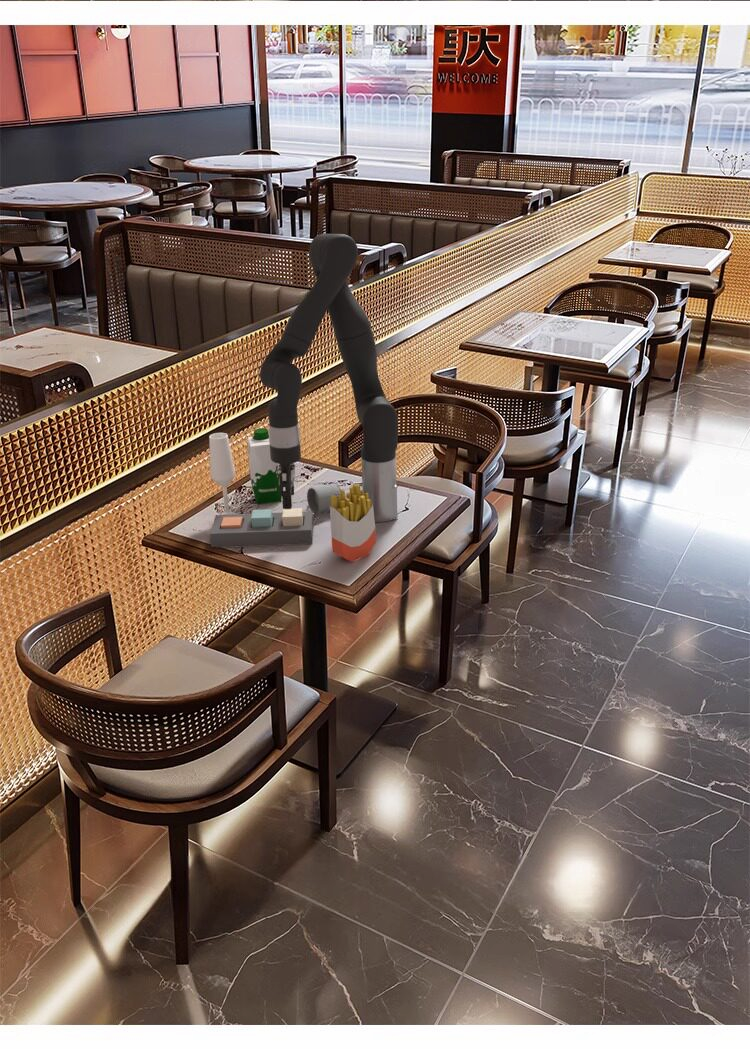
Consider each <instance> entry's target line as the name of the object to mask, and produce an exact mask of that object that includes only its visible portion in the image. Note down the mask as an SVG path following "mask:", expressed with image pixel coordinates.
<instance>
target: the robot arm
mask: <svg viewBox="0 0 750 1049" xmlns="http://www.w3.org/2000/svg"><path fill="white" fill-rule="evenodd" d="M308 255H309V257H308V258H309V262H310V266H311V267H312V270H313V273H314V275H315V277H316V281H315V282H314V284H313V286H312V287H311V289H310V290H309V291H308V292H307V294H306V295H305V296H304V298H303V299H302V300H301V301H300V302H299V303H298V305H297V306H296V308H295V309H294V310H293V312H291V315H290V316H289V319H288V321H287V324H285V325H286V326H285V328H284V330H283V333H282V335H281V336H280V339H279V340H278V342H277V343H275V345H274V346H273V347H272V349H271V350H270V352H269V353H268V354H267V355H266V357H265V358H264V360H263V362H262V363H261V366H260V370H259V380H260V381H261V383H262V385H263V386H264V387H266V388H268V389H272V390H274V391H276V392H277V394H276V398H273V399H272V400H270V402H269V403H268V406H267V407H268V408H267V415H268V416H267V417H268V434H269V443H270V457H271V460H272V461H273V462H274V463H278V464H280V465H279V468H278V474H279V485H280V496H282V502H281V503H282V509H293V504H292V502H293V500H292V496H294V494H295V484H294V481H295V477H296V464H295V463H297V462H298V461H300V460H301V458H302V451H301V450H302V449H301V447H302V446H301V434H300V427H299V417H298V405H299V401H300V396H301V391H302V390H301V389H302V385H303V379H302V378H303V377H302V374H301V371H300V369H299V367H297V365H295V364H293V363H292V362H293V361H294V360H295V359H296V358H300V357H304V356H306V355H307V353H308V351H309V349H310V348H311V345H312V343H313V340H314V338H315V336H316V333H317V331H318V329H319V328H320V325H321V323H322V321H323V319H324V317H325V315H326V313H327V312H328V315H329V318H330V322H331V325H332V328H333V332H334V336H335V340H336V344H337V347H338V350H339V354H340V356H341V359H342V363H343V366H344V367H345V370H346V373H347V375H348V377H349V380H350V383H351V386H352V392H353V396H354V397H353V398H354V404H355V409H356V415H357V419H358V421H359V423H360V424H361V425H362V437H363V438H362V439H363V441H362V442H363V444H362V445H361V448H360V460H361V463H360V464H361V484H362V485H361V487H362V490H363V491H364V493H369V497H370V499H371V501H372V503H373V510H374V520H375V523H382V522H384V523H385V522H389V521H392V520H396V519H398V485H397V452H396V451H397V449H398V443H399V442H398V440H399V437H398V436H399V435H398V434H399V419H398V413H397V411H396V409H395V406H393V405H392V404H391V403H390V401H389V400H388V399H387V397H386V394H385V393H384V390H383V387H382V383H381V380H380V377H379V373H378V356H377V355H378V354H377V344H376V341H375V337H374V332H373V329H372V325H371V323H370V320H369V318H368V315H367V314H366V313H365V311H364V309H363V307H362V306H361V305H360V303H359V302H358V301H357V299H356V297H355V296H354V294H353V292H352V290H351V288H350V286H349V283H348V281H347V279H348V277H349V276H350V275H351V273H352V271H353V270H354V268H355V266H356V264H357V261H358V259H359V249H358V244H357V243H356V241H355V240H354V239H353V237H351V236H349V235H347V234H343V233H322V234H321V233H320V234H318V235H316V236H315V237H314V238H313V239H312V240H311V242H310V244H309V250H308ZM284 489H285V490H284Z"/></svg>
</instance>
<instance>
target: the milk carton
mask: <svg viewBox="0 0 750 1049" xmlns="http://www.w3.org/2000/svg"><path fill="white" fill-rule="evenodd" d="M247 456H248V465H249V467H248V468H249V477H250V485H251V487H252V488H251V489H252V490H253V494H254V498H255V501H256V504H257V505H266V504H273V503H274V504H275V503H282V496H280V485H279V474H278V468H279V465H280V464H278V463H274V462H273V461H272V460H271V457H270V443H269V429H268V428H263V427H262V428H256V429H254V430H253V435H252V436H248V437H247Z"/></svg>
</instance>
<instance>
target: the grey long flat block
mask: <svg viewBox="0 0 750 1049" xmlns="http://www.w3.org/2000/svg"><path fill="white" fill-rule="evenodd" d="M272 513H273V525H272V527H254V528H252V522H251V517H252V513H237V514H229V515H220V514H215V516H214V520H213V523H212V527H211V529H210V530H209V531H210V532H209V539H210V545H211V546H210V547H216V548H235V547H236V548H237V547H261V546H263V547H265V546H266V547H267V546H268V547H269V546H291V545H313V541H314V531H315V529H314V528H315V519H314V514H313V511H311V510H310V511H309V510H308V511H303V526H283V521H282V515H283V511H282V512H272ZM223 517H242V518H243V525H242V528H228V529H221V523H222V520H223ZM313 530H314V531H313Z"/></svg>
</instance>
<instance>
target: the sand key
mask: <svg viewBox="0 0 750 1049" xmlns="http://www.w3.org/2000/svg"><path fill="white" fill-rule="evenodd" d="M282 509H283V508H282ZM282 512H283V515H282V521H283V526H303V512H304V510H303V507H297V508H293V507H292V508H291V509H283V511H282Z"/></svg>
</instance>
